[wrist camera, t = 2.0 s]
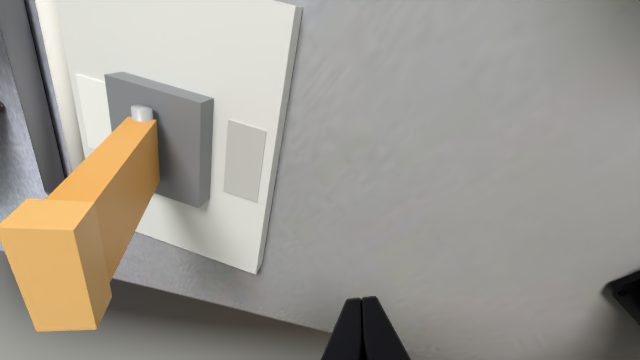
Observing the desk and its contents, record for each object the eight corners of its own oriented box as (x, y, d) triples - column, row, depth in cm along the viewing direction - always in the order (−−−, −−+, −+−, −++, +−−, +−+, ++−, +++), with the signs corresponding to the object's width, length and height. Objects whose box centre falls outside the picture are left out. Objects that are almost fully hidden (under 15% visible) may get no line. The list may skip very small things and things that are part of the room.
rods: (-3, -61, 18) (-33, -68, 17) (64, -45, 17) (38, -50, 16) (58, 189, 26) (41, 197, 25) (105, 205, 26) (90, 214, 24)
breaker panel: (302, 7, 15) (286, 4, 13) (262, 263, 24) (247, 287, 22) (67, -50, 17) (18, -61, 15) (108, 209, 26) (81, 226, 24)
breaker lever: (162, 107, 17) (71, 222, 9) (165, 185, 20) (97, 334, 11) (126, 102, 17) (-8, 218, 8) (134, 183, 19) (38, 336, 11)
